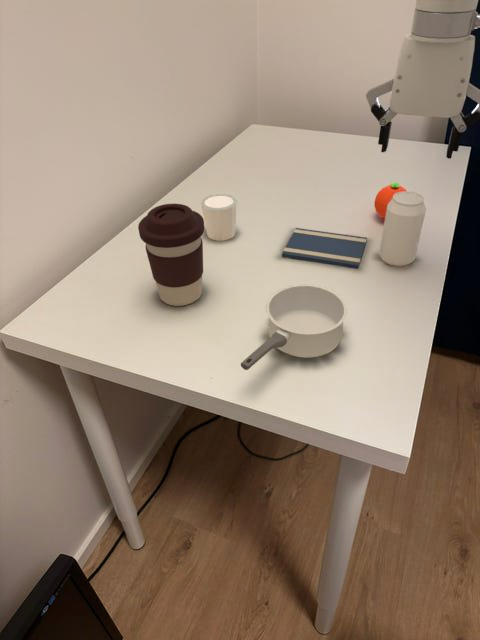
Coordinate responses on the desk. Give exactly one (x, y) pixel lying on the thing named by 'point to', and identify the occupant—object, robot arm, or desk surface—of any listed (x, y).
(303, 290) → the saucepan
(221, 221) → the white candle
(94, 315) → the desk surface
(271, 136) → the desk surface
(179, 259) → the coffee cup
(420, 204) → the beverage can
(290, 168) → the desk surface
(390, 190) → the clementine
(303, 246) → the towel
